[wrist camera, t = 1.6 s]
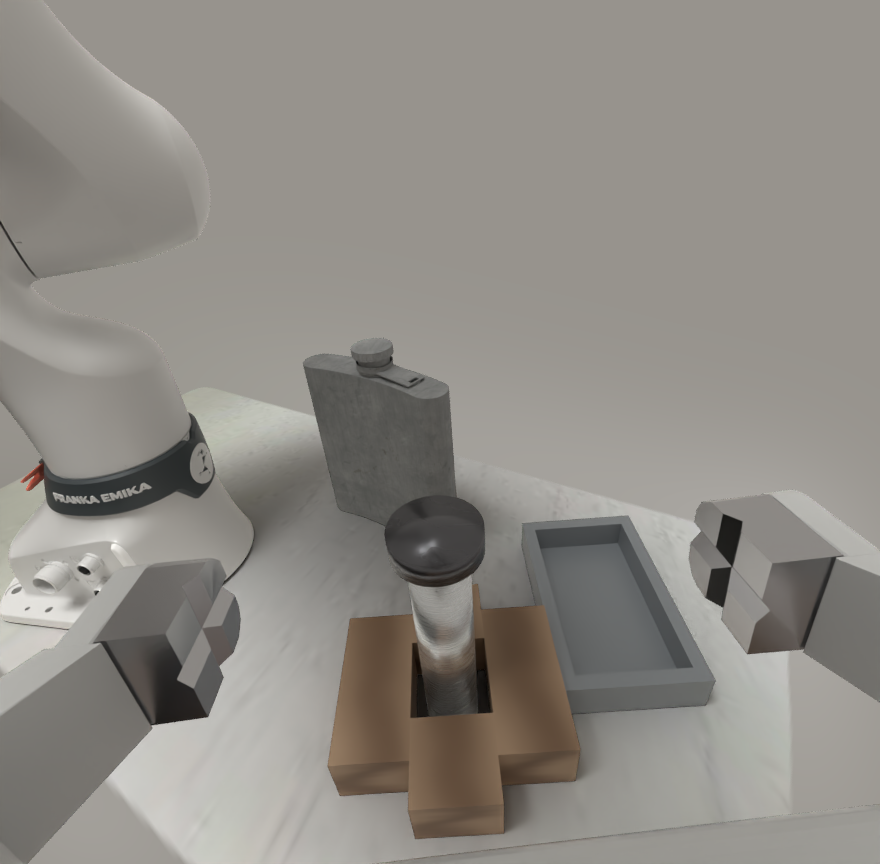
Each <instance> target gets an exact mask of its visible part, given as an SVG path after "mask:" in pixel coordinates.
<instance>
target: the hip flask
mask: <svg viewBox="0 0 880 864" xmlns="http://www.w3.org/2000/svg"><path fill="white" fill-rule="evenodd" d="M351 354H352V357H349V356H342V355H334V354H319V355H314V356H311V357H309V358H307V359H306V360H305V361H304V362H303V366H304V370H305V374H306V378H307V382H308V386H309V390H310V395H311V399H312V402H313V407H314V411H315V415H316V419H317V423H318V427H319V432H320V436H321V440H322V444H323V448H324V452H325V456H326V460H327V464H328V469H329V473H330V477H331V481H332V485H333V489H334V493H335V497H336V501H337V505H338V508H339V509H340V510H342V511H344V512H348V513H352V514H356V515H359V516H362V517H365V518H368V519H370V520H373V521H375V522H378V523H380V524H382V525H385V526H386V524H387V522H388V520H389V518H390V517H391V515H392V514H393V513H394V512H395V511H396V510H397V509H398V508H400V507H401V506H403V505H404V504H406V503H408V502H410V501H412V500H415V499H418V498H421V497H426V496H433V495H444V496H451V497H456V486H455V471H454V456H453V443H452V428H451V412H450V398H449V387H448V385H447V384H445V383H443V382H441V381H438V380H436V379H433V378H431V377H428V376H425V375H422V374H420V373H416V372H414V371H410V370H407V369H404V368H401V367H399V366H396V365H394V364H393V358H392V356H391V355H392V354H393V345H392V342H391V341H390V340H387V339H384V338H371V339H365V340H361V341H359V342H357V343H355V344H353V345H352V346H351Z"/></svg>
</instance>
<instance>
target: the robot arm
mask: <svg viewBox="0 0 880 864" xmlns="http://www.w3.org/2000/svg"><path fill="white" fill-rule="evenodd" d="M209 208H210V186H209V179H208V175H207V171H206V168H205V165H204V162H203V160H202V157H201V155H200V153H199V151H198V149H197V147H196V145H195V144H194V142H193V140H192V139H191V137H190V136H189V134H188V133H187V132H186V130H185V129H184V128H183V127H182V125H181V124H180V123H179V122H178V121H177V120H176V119H175V118H174V117H173V116H172V115H171V114H170V113H169V112H168V111H167V110H166V109H165V108H164V107H163V106H161V105H160V104H159V103H157V102H156V101H155V100H153V99H152V98H150V97H148V96H146V95H144V94H143V93H141V92H140V91H138V90H136V89H134V88H133V87H131V86H130V85H128V84H127V83H126V82H124V81H123V80H121V79H120V78H119V77H117V76H116V75H114V74H113V73H112V72H111V71H109V70H108V69H107V68H106V67H105V66H103V65H102V64H101V63H100V62H99V61H98V60H97V59H96V58H94V57H93V56H92V55H91V54H90V53H89V52H88V51H87V50H86V49H85V48H84V47H83V46H82V45H81V44H80V43H79V42H78V41H77V40H76V39H75V38H74V37H73V36H72V35H71V34H70V33H69V31H68V30H67V29H66V28H65V27H64V26H63V25H62V23H61V22H60V21H59V20H58V19H57V17H56V16H55V15H54V14H53V12H52V11H51V10H50V8H49V7H48V6H47V4H46V3H45V2H44V0H0V401H1V402H2V404H3V405H4V406H5V407H6V409H7V410H8V411H9V413H10V414H11V415H12V416H13V418H14V419H15V420H16V422H17V423H18V424H19V426H20V427H21V428H22V430H23V431H24V432H25V434H26V435H27V437H28V438H29V439H30V441H31V442H32V444H33V445H34V447H35V448H36V450H37V451H38V453H39V454H40V456H41V457H42V459H41V460H40V461H39V463H40V465H39V466H37V467H36V468H35V469H34V470H33V471H32V472H31V473H29V474H28V475H27V476H26V477H25V478H24V479H23V480H21V483H24V482H25V481H27V480H28V479H30V478H31V477H33V476H34V478H33V479H32V480H31V481H30V483H29V484H28V486H27V488H26V490H27V491H30V490H32V489H33V488H34V487H35V486H36V485H37V484H38V483H39V482H40V481H42V480H43V479H44V485H45V493H46V499H45V500H44V501H43V502H42V503H41V505H40V506H39V507H38V508H37V509H36V511H35V512H34V513H33V514H32V516H31V517H30V518H29V519H28V520H27V522H26V523H25V524H24V525H23V526H22V528H21V529H20V530H19V532H18V533H17V534H16V536H15V538H14V539H13V541H12V543H11V545H10V548H9V552H8V561H9V565H10V568H11V570H12V572H13V573H14V575H15V577H14V579H13V580H12V582H11V583H10V585H9V586H8V588H7V589H6V591H5V593H4V595H3V598H2V600H1V603H0V615H1V617H2V619H3V620H4V621H8V622H14V623H22V624H30V625H39V626H47V627H55V628H63V629H69V630H68V631H67V633H66V634H65V635H64V636H63V638H62V639H61V640H60V641H59V643H58V644H57V645H56V646H55V648H52V649H44V650H42V651H40V652H39V653H37V654H36V655H34V656H33V657H31V658H30V659H28V660H27V661H25V662H24V663H22V664H21V665H19V666H18V667H16V668H15V669H13V670H12V671H10V672H8V673H7V674H5V675H4V676H2V677H1V678H0V864H28V863H29V861H30V860H31V859H32V858H33V857H34V856H35V855H36V854H37V853H38V852H39V851H40V849H41V848H42V847H43V846H44V845H45V844H46V843H47V842H48V841H49V840H50V839H51V838H52V837H53V835H54V834H55V833H56V832H57V831H58V830H59V829H60V828H61V827H62V826H63V825H64V824H65V822H66V821H67V820H68V819H69V818H70V817H71V816H72V815H73V814H74V813H75V812H76V811H77V809H78V808H79V807H80V806H81V805H82V804H83V803H84V802H85V801H86V800H87V799H88V798H89V796H90V795H91V794H92V793H93V792H94V791H95V790H96V789H97V788H98V787H99V786H100V785H101V784H102V782H103V781H104V780H105V779H106V778H107V777H108V776H109V775H110V774H111V773H112V772H113V771H114V769H115V768H116V767H117V766H118V765H119V764H120V763H121V762H122V761H123V760H124V759H125V758H126V757H127V755H128V754H129V753H130V752H131V751H132V750H133V749H134V748H135V747H136V746H137V745H138V744H139V742H140V741H141V740H142V739H143V738H144V737H145V736H146V735H147V734H148V733H149V732H150V731H151V729H152V726H151V725H158V724H165V723H172V722H178V721H185V720H192V719H199V718H206V717H208V716H209V713H210V711H211V708H212V706H213V703H214V701H215V698H216V696H217V693H218V690H219V688H220V685H221V683H222V680H223V678H224V677H223V675H222V672H221V670H220V668H219V666H220V665H221V664H222V663H223V662H224V661H225V660H226V659H227V658H228V657H229V656H230V655H231V654H232V653H233V652H234V649H235V646H236V644H237V641H238V638H239V630H240V621H241V618H240V612H239V606H238V603H237V600H236V598H235V595H233V594H232V593H230V592H229V591H227V590H226V589H225V588H223V587H222V585H223V583H224V581H225V580H226V579H227V578H228V577H229V576H230V575H231V574H232V573H233V572H234V571H235V570H236V569H237V568H238V567H239V566H240V565H241V563H242V562H243V561H244V559H245V558H246V556H247V554H248V552H249V550H250V548H251V546H252V542H253V537H254V530H253V526H252V523H251V521H250V520H249V519H248V517H247V516H246V515H245V514H244V513H243V512H242V511H241V510H240V509H239V508H238V506H237V505H236V504H235V503H234V501H233V500H232V499H231V497H230V496H229V494H228V493H227V491H226V490H225V488H224V486H223V485H222V483H221V481H220V480H219V478H218V476H217V474H216V472H215V468H214V464H213V460H212V457H211V454H210V451H209V448H208V446H207V443H206V441H205V438H204V436H203V434H202V431H201V429H200V427H199V425H198V423H197V420H196V418H195V417H194V416H193V415H192V414H191V413H189V412H188V411H187V409H186V406H185V404H184V401H183V399H182V396H181V394H180V392H179V389H178V386H177V384H176V382H175V379H174V377H173V374H172V372H171V369H170V367H169V364H168V362H167V360H166V357H165V355H164V352H163V350H162V349H161V348H160V346H159V345H158V344H157V343H156V342H155V340H153V339H152V338H151V337H150V336H149V335H147V334H146V333H144V332H142V331H141V330H139V329H137V328H134V327H132V326H130V325H127V324H124V323H120V322H117V321H112V320H108V319H103V318H97V317H90V316H84V315H78V314H74V313H71V312H67V311H65V310H62V309H60V308H58V307H56V306H54V305H53V304H51V303H49V302H48V301H46V300H45V299H44V298H42V297H41V296H40V295H39V294H38V293H37V291H35V289H34V288H33V287H32V285H31V284H32V283H33V282H34V281H37V280H40V278H46V277H52V276H58V275H63V274H69V273H75V272H81V271H87V270H92V269H98V268H104V267H110V266H115V265H121V264H127V263H133V262H138V261H142V260H145V259H148V258H151V257H153V256H156V255H159V254H161V253H164V252H167V251H170V250H172V249H175V248H177V247H179V246H182V245H185V244H187V243H189V242H192V241H194V240H197V239H198V237H199V236H200V234H201V232H202V231H203V229H204V226H205V224H206V221H207V218H208V214H209ZM694 522H695V523H696V525H697V526H698V527H699V529H700V530H701V532H700V533H699V534H698V535H697V536H696V538H695V539H694V540H693V541H692V542H691V544H690V552H689V562H690V568H691V573H692V576H693V578H694V580H695V582H696V585H697V587H698V588H699V589H700V591H701V592H702V594H703V595H704V596H705V598H706V599H708V600H710V601H712V602H714V603H715V604H717V605H719V606H721V607H723V610H722V618H721V620H722V621H723V622H724V624H725V625H726V626H727V628H728V629H729V631H730V632H731V633H732V635H733V636H734V637H735V639H736V640H737V641H738V643H739V644H740V645H741V647H742V648H743V649H744V651H745V652H746V653H747V654H757V653H768V652H779V651H791V650H801V649H804V651H803V652H804V653H805V654H807V655H808V656H810V657H811V658H813V659H814V660H816V661H817V662H819V663H820V664H822V665H823V666H825V667H826V668H828V669H829V670H831V671H833V672H834V673H836V674H837V675H839V676H840V677H842V678H843V679H845V680H846V681H848V682H849V683H851V684H852V685H854V686H855V687H857V688H858V689H860V690H861V691H863V692H864V693H866V694H868V695H869V696H871V697H872V698H874V699H875V700H877V701H878V702H880V550H879V549H878V548H876V547H875V546H874V545H872V544H871V543H869V542H868V541H867V540H866V539H864V538H863V537H862V536H860V535H859V534H858V533H856V532H855V531H854V530H852V529H851V528H849V527H848V526H847V525H846V524H844V523H843V522H842V521H840V520H839V519H838V518H836V517H835V516H834V515H832V514H831V513H830V512H828V511H827V510H826V509H824V508H823V507H822V506H820V505H819V504H818V503H816V502H815V501H814V500H812V499H811V498H810V497H808V496H807V495H806V494H804V493H802V492H799V491H796V490H786V491H778V492H771V493H765V494H761V495H755V496H747V497H738V498H730V499H722V500H713V501H705V502H701V504H700V505H699V507H698V508H697V510H696V515H695V521H694ZM374 864H880V804H875V805H866V806H858V807H849V808H841V809H832V810H824V811H815V812H807V813H798V814H790V815H781V816H773V817H764V818H755V819H747V820H738V821H730V822H721V823H713V824H704V825H696V826H687V827H679V828H670V829H662V830H653V831H645V832H636V833H628V834H619V835H611V836H602V837H593V838H585V839H576V840H568V841H559V842H551V843H543V844H534V845H526V846H517V847H509V848H500V849H492V850H483V851H475V852H467V853H458V854H450V855H441V856H433V857H424V858H416V859H408V860H399V861H391V862H382V863H374Z"/></svg>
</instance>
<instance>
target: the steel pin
mask: <svg viewBox="0 0 880 864" xmlns="http://www.w3.org/2000/svg"><path fill="white" fill-rule="evenodd" d="M385 540H386V546H387V551H388V557H389V562H390V564H391V566H392V568H393V570H394V571H395V572H396V573H397V574H398V575H399V576H400V577H401V578H402V579H404V580H405V581H407V582H408V587H409V593H410V599H411V606H412V612H413V618H414V625H415V631H416V637H417V644H418V650H419V656H420V663H421V669H422V675H423V682H424V688H425V694H426V701H427V707H428V713H429V717H435V716H450V715H465V714H478V692H477V673H476V654H475V635H474V615H473V596H472V577H471V574H472V573H474V572H475V570H476V569H477V568H478V567H479V565H480V564H481V562H482V560H483V557H484V554H485V531H484V521H483V518H482V516H481V514H480V513H479V511H478V510H477V509H476V508H475V507H474V506H472V505H471V504H469V503H468V502H466V501H464V500H462V499H459V498H456V497H451V496H444V495H433V496H426V497H421V498H418V499H415V500H412V501H410V502H408V503H406V504H404V505H403V506H401V507H400V508H398V509H397V510H396V511H395V512H394V513H393V514H392V515H391V517H390V518H389V520H388V522H387V524H386V527H385Z"/></svg>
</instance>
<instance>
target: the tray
mask: <svg viewBox="0 0 880 864" xmlns="http://www.w3.org/2000/svg"><path fill="white" fill-rule="evenodd" d="M522 549H523V554H524V558H525V562H526V566H527V571H528V575H529V579H530V584H531V588H532V592H533V596H534V601H535V605H536V606H540V605H544V607H545V611H546V614H547V618H548V622H549V626H550V630H551V634H552V638H553V642H554V646H555V650H556V654H557V658H558V662H559V666H560V670H561V674H562V678H563V682H564V686H565V690H566V694H567V698H568V702H569V706H570V710H571V714H580V713H595V712H610V711H626V710H641V709H656V708H671V707H687V706H702V705H706V703H707V700H708V698H709V696H710V693H711V691H712V689H713V686H714V684H715V682H716V680H715V678H714V677H713V675H712V673H711V671H710V669H709V667H708V665H707V663H706V661H705V660H704V658H703V656H702V654H701V652H700V650H699V648H698V646H697V644H696V643H695V641H694V639H693V637H692V635H691V633H690V631H689V629H688V627H687V626H686V624H685V622H684V620H683V618H682V616H681V614H680V612H679V610H678V609H677V607H676V605H675V603H674V601H673V599H672V597H671V595H670V593H669V592H668V590H667V588H666V586H665V584H664V582H663V580H662V578H661V576H660V575H659V573H658V571H657V569H656V567H655V565H654V563H653V561H652V559H651V558H650V556H649V554H648V552H647V550H646V548H645V546H644V544H643V542H642V541H641V539H640V537H639V535H638V533H637V531H636V529H635V527H634V526H633V524H632V522H631V520H630V518H629V516H616V517H602V518H588V519H574V520H560V521H546V522H532V523H522Z"/></svg>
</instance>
